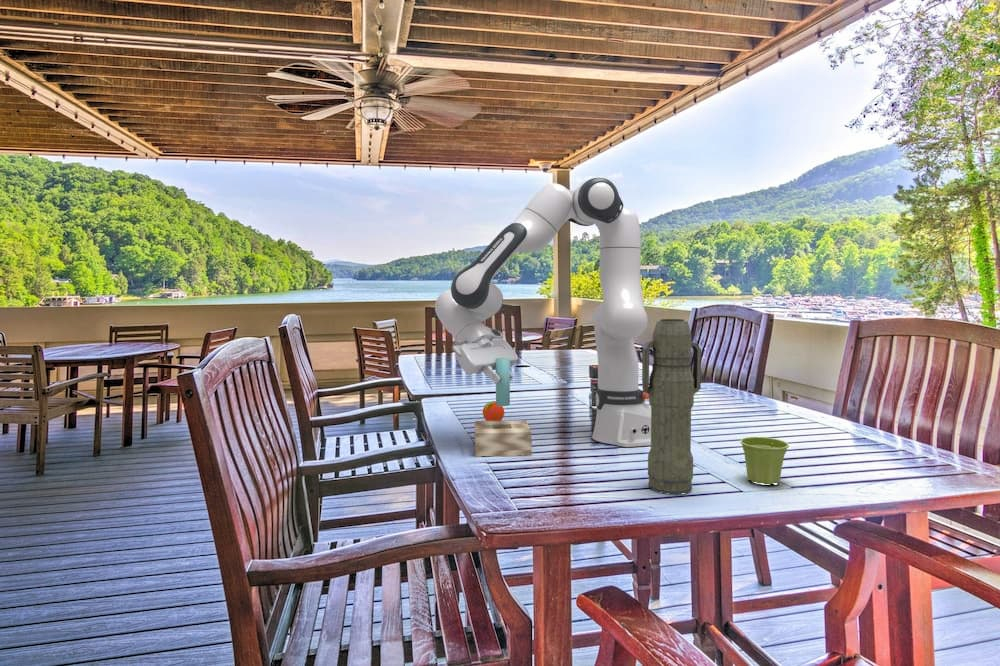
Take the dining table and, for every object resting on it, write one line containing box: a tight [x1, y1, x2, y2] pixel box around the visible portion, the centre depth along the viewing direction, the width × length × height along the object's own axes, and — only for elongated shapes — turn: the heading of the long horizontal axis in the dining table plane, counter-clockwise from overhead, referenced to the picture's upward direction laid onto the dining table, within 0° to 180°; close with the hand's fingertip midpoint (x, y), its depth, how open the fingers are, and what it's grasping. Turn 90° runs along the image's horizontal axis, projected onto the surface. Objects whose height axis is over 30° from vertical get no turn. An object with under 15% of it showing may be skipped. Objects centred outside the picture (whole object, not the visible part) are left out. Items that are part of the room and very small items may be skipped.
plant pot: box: [739, 436, 790, 484], centre depth 120 cm, size 9×9×9 cm
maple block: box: [474, 419, 533, 458], centre depth 148 cm, size 14×14×6 cm
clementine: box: [482, 400, 505, 421], centre depth 179 cm, size 8×7×7 cm
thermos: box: [641, 318, 702, 495], centre depth 116 cm, size 9×12×35 cm
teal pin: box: [495, 358, 511, 407], centre depth 146 cm, size 4×4×12 cm
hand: (504, 380), depth 145 cm, fingers closed on teal pin, 4 cm apart
